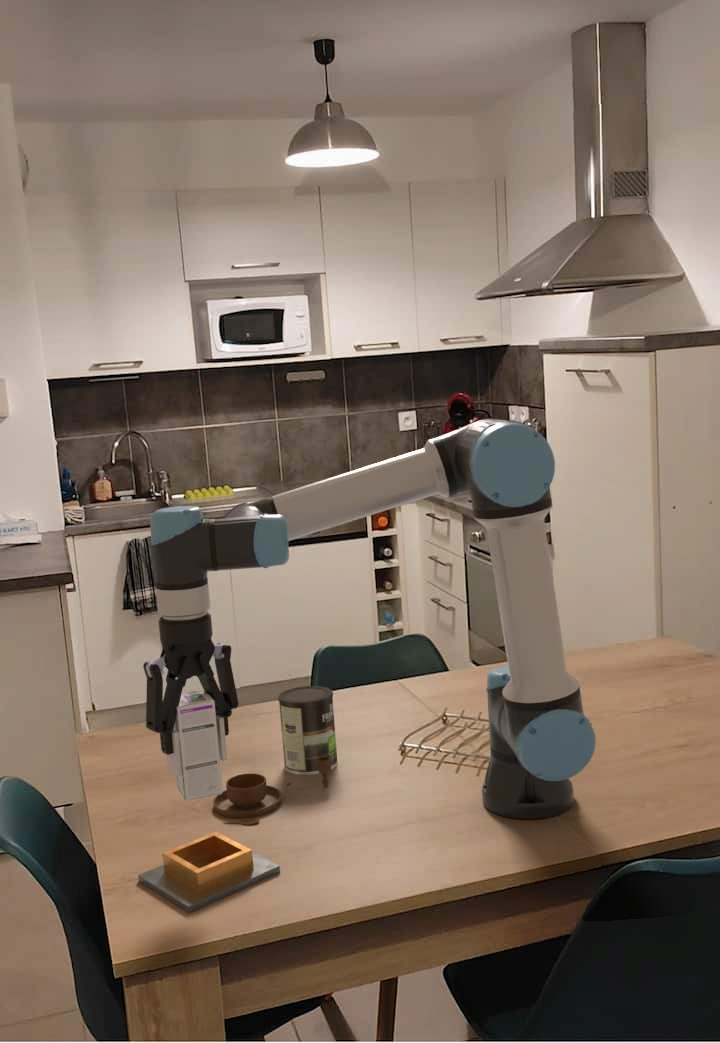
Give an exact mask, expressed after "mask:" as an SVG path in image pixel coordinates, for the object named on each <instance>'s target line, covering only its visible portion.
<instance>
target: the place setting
mask: <svg viewBox="0 0 720 1043" xmlns="http://www.w3.org/2000/svg"><path fill="white" fill-rule="evenodd" d="M317 766H318V771H319V773H320V774H319V775H322V780H321V781H322V782H321V783H322V784H323V786H322V788H325V789H326V788H329V785H328V784H329V779H328V774H330V772H331V771H332V770H331V758H330V757H328V756H322V757H319V758H317ZM291 785H292V782H288V783H287V784H286V786H287V787H288V786H291ZM225 786H226V789H225V790H222V794H219V795H215V797H214V798H213V800H212V804H213V808H214V811H216V812H217V813H218V814H219V815H221V816H224V817H227V818H230V819H231V818H232V819H245V820H239V821H229V822H223V825H234V824H238V825H239V824H240V825H242V826H253V825H256V824H258V823H260V819H257V818H254V817H259V816H262V815H266V814H269V813H270V812H273V811H274V810H276V809H277V808H278V807H279V805H280V804H281V802H282V798H283V796H282V792H281V790H280V789H279V788H277V787H275V786H273V785H267V778H266V777H265V776H264V775H262V774H259V773H254V772H251V773H242V774H238V775H234V776H232V777H230V778H228V779H227V781H226V783H225ZM267 794H268V795H271V796H273V797H274V798H276V801H274V802H273V803H272V804H269V805H268V806H266V807H262V808H259V809H258V808H257V809H254V810H248V811H233V810H225V809H222V808H221V807H220V805H221V804H222V803H223V802H224V801H226V800H229V802H230V803H232V804H234V805H235V806H236V807H237V808H240V809H245V810H246V809H253V808H255V807H257V806H259V805H260V803H261V802H263V801H264V799H265V798H266V796H267ZM246 818H247V819H246ZM248 818H249V819H248Z"/></svg>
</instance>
